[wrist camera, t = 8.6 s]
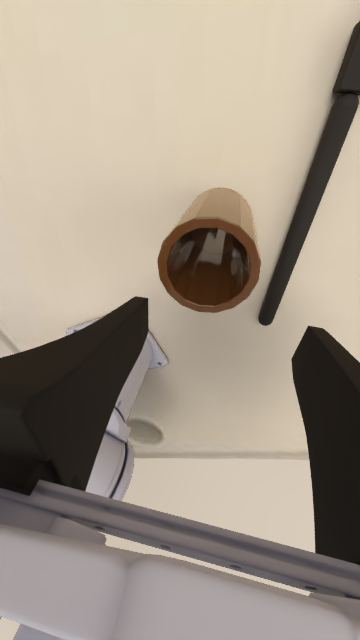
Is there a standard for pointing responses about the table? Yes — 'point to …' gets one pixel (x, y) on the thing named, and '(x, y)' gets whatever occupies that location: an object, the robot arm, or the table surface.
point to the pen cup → (211, 253)
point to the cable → (318, 174)
